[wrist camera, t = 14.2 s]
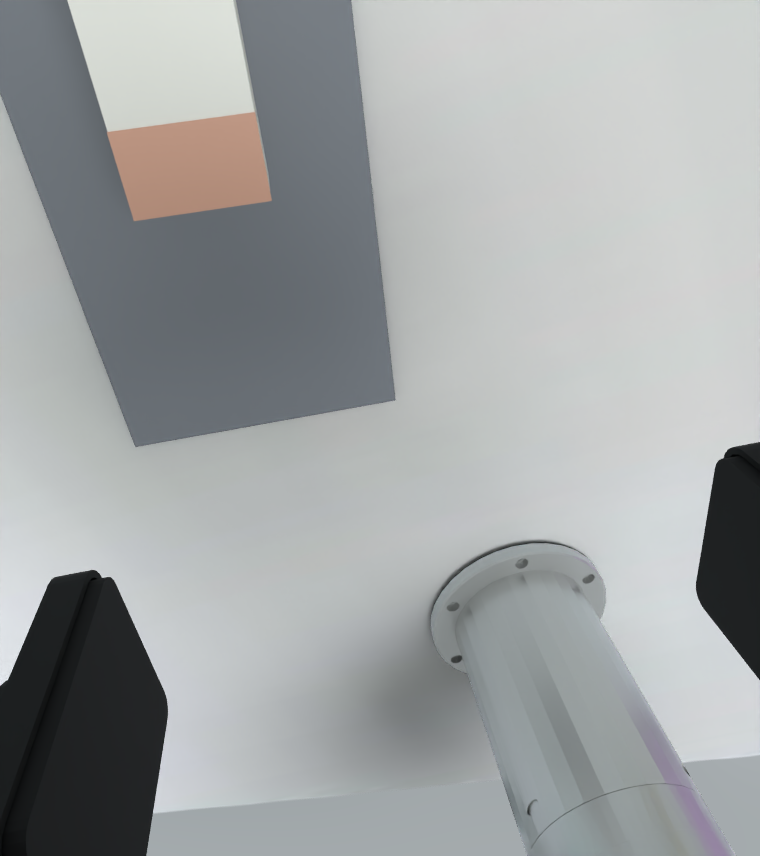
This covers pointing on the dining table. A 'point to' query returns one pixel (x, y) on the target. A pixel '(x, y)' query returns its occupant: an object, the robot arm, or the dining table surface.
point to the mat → (217, 232)
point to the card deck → (175, 102)
